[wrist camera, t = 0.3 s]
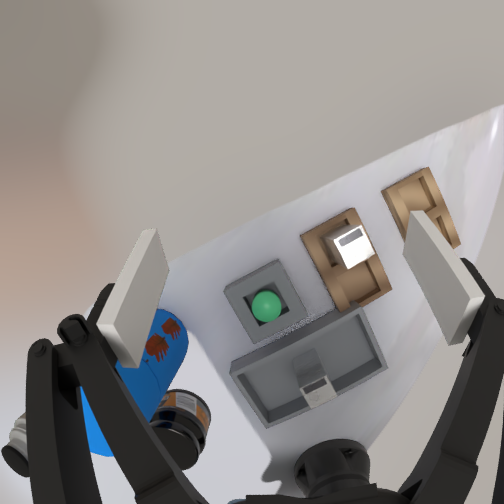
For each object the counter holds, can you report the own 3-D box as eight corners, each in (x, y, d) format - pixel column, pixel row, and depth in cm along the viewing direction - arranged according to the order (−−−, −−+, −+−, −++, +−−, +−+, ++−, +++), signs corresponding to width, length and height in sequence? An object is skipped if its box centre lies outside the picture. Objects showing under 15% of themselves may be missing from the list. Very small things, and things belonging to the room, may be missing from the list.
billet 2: (353, 247, 48) (375, 253, 38) (330, 259, 48) (348, 269, 38) (341, 224, 48) (361, 224, 38) (319, 236, 48) (334, 240, 38)
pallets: (453, 242, 48) (460, 243, 46) (339, 313, 50) (343, 318, 47) (421, 168, 47) (428, 166, 45) (299, 235, 49) (301, 236, 46)
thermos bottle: (93, 399, 52) (16, 484, 25) (74, 364, 52) (-17, 437, 24) (124, 393, 52) (50, 489, 24) (105, 355, 51) (12, 438, 23)
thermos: (123, 309, 50) (34, 367, 26) (183, 304, 50) (120, 372, 25) (136, 368, 51) (68, 451, 26) (194, 366, 51) (151, 462, 26)
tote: (379, 357, 50) (388, 368, 46) (265, 414, 52) (266, 428, 47) (353, 299, 49) (361, 306, 45) (231, 361, 51) (229, 373, 46)
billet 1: (324, 366, 50) (337, 397, 40) (303, 377, 50) (311, 409, 40) (314, 347, 50) (326, 375, 39) (292, 359, 50) (299, 389, 40)
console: (304, 308, 50) (308, 316, 46) (254, 335, 50) (253, 344, 46) (278, 258, 49) (279, 261, 45) (226, 286, 50) (223, 291, 46)
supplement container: (195, 379, 51) (179, 417, 39) (222, 425, 52) (214, 467, 40) (145, 394, 52) (121, 430, 40) (173, 437, 53) (157, 477, 41)
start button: (284, 307, 47) (286, 313, 44) (260, 320, 47) (260, 326, 44) (272, 284, 46) (272, 288, 43) (247, 297, 47) (246, 302, 44)
